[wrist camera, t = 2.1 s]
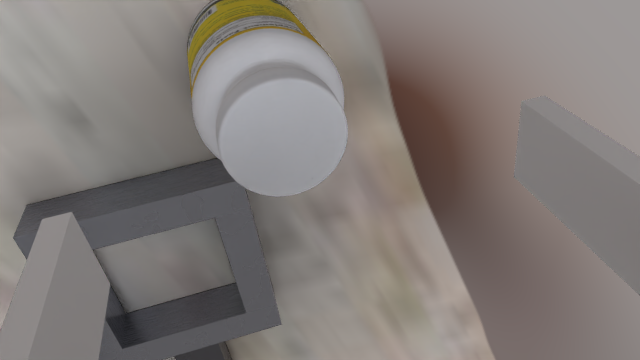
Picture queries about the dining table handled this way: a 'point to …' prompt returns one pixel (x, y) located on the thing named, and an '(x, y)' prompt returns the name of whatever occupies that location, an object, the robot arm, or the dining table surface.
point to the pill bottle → (265, 96)
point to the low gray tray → (160, 215)
